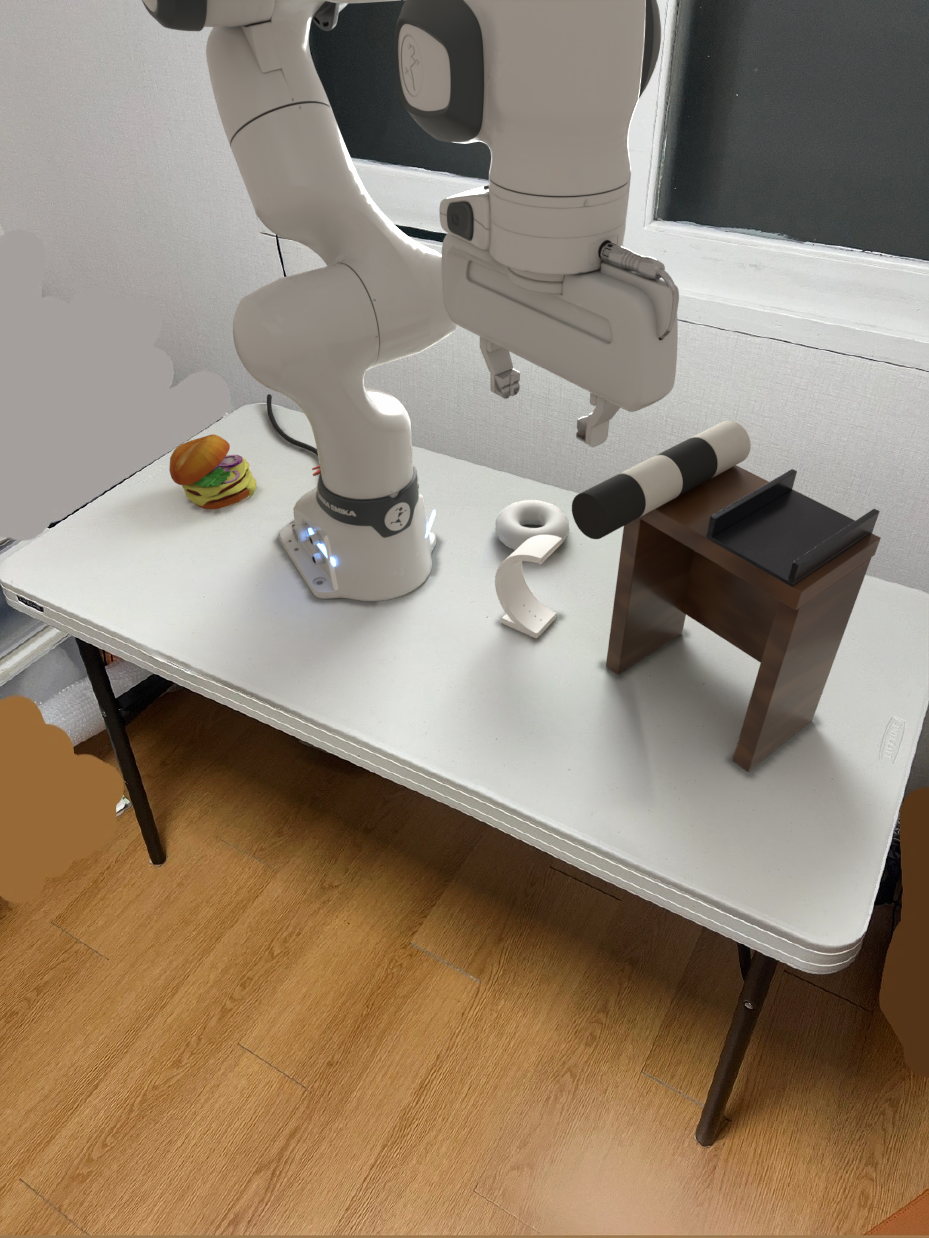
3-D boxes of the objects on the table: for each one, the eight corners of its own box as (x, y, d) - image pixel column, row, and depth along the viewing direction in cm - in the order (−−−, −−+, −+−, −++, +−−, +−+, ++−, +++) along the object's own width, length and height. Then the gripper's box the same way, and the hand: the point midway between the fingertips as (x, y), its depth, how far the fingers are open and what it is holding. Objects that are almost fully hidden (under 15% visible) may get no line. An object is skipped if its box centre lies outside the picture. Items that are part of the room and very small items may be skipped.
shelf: (602, 668, 102) (624, 491, 86) (672, 623, 108) (705, 449, 92) (745, 774, 90) (801, 592, 74) (815, 718, 96) (881, 537, 80)
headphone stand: (536, 639, 106) (540, 558, 98) (494, 619, 108) (495, 540, 101) (556, 617, 109) (562, 538, 101) (515, 599, 111) (517, 520, 103)
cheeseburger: (252, 513, 126) (222, 454, 119) (184, 528, 128) (150, 471, 121) (265, 473, 133) (237, 416, 127) (200, 488, 135) (169, 432, 129)
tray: (705, 537, 80) (710, 515, 79) (786, 489, 86) (792, 468, 84) (792, 587, 75) (798, 565, 73) (872, 533, 80) (880, 511, 79)
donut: (489, 555, 118) (564, 562, 117) (488, 534, 116) (565, 541, 114) (501, 512, 126) (572, 518, 124) (501, 492, 123) (573, 498, 122)
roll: (614, 526, 77) (586, 484, 78) (591, 547, 81) (564, 507, 81) (759, 448, 86) (732, 411, 87) (731, 470, 90) (707, 435, 91)
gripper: (716, 256, 53) (681, 458, 62) (492, 180, 65) (491, 358, 74) (644, 283, 50) (618, 490, 59) (423, 197, 62) (431, 381, 71)
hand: (546, 416), depth 67 cm, fingers open, 8 cm apart
